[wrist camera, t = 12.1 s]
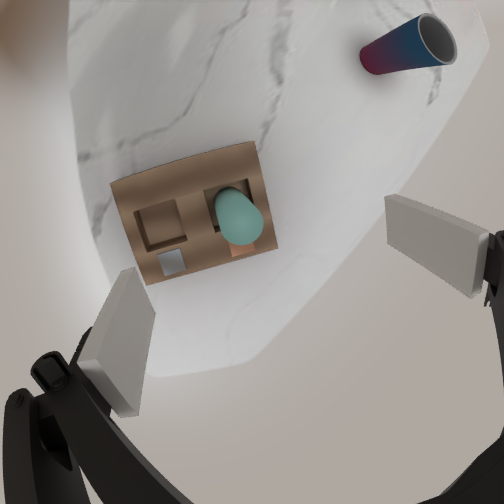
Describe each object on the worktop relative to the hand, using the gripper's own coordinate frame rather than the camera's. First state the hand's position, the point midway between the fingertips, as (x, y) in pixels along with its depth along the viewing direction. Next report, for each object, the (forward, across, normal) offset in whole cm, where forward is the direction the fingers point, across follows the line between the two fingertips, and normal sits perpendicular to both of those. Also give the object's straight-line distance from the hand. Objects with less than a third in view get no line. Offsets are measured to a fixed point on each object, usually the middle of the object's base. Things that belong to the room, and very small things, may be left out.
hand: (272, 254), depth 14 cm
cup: (+26, +26, +14) cm, 40 cm away
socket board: (+25, -5, -2) cm, 26 cm away
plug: (+25, 0, -2) cm, 25 cm away
